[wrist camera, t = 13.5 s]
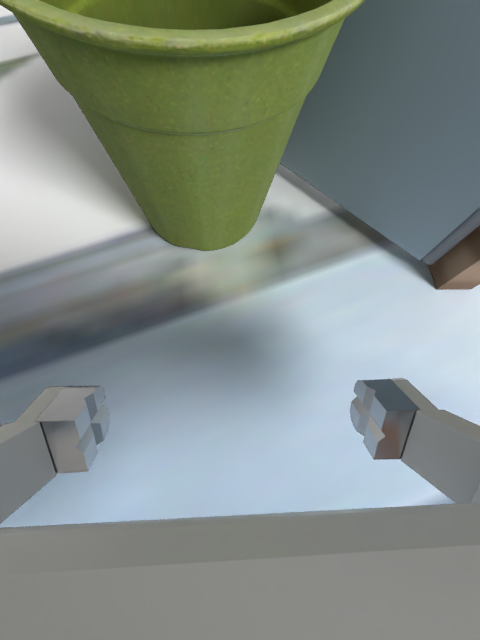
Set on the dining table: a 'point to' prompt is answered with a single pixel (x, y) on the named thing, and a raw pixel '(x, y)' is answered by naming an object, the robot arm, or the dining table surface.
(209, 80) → the plant pot
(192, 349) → the dining table surface
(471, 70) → the door
